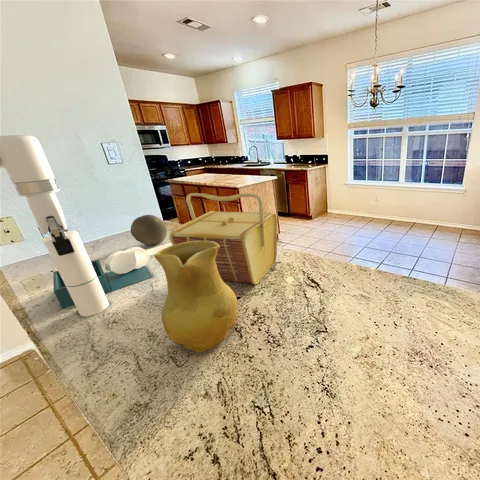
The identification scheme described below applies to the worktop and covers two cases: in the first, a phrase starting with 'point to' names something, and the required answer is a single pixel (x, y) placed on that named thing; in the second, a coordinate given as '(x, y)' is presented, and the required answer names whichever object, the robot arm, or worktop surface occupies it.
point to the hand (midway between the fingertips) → (66, 248)
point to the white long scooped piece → (130, 259)
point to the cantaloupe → (149, 230)
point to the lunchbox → (101, 281)
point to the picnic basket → (234, 238)
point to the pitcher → (196, 296)
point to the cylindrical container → (79, 276)
